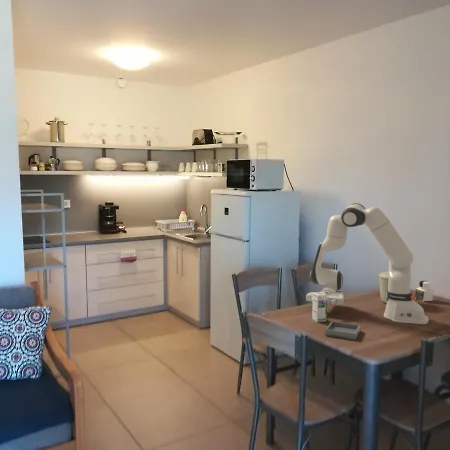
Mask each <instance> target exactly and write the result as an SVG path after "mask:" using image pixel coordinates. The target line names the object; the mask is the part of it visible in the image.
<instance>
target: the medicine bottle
mask: <svg viewBox="0 0 450 450" xmlns="http://www.w3.org/2000/svg"><path fill="white" fill-rule="evenodd" d="M430 288H431V282H430V281H428V280H420V281H419V285H418V287H415V294H414V300H416V299H418V300H420V301H419V302H421V301H423V302H422V303H425V302H424V301H432V302H433V299H434V298H433V297H434V295H433V294H434V290H433V289H430ZM418 300H417V301H418Z"/></svg>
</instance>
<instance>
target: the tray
mask: <svg viewBox="0 0 450 450" xmlns="http://www.w3.org/2000/svg"><path fill="white" fill-rule="evenodd" d="M360 332H361V325H360V324H354V323H346V322H339V321H335V320H334V321H330V323H329V324H328V325H327V327H326V329H325V332H324V333H325V334H324V335H325V336H326V337H332V338H339V339H344V338H345V340H352V341H356V340H357V338H358V336H359V334H360Z"/></svg>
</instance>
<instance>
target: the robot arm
mask: <svg viewBox="0 0 450 450" xmlns="http://www.w3.org/2000/svg"><path fill="white" fill-rule="evenodd" d="M363 225H366V226H367V228H368V229H369V231H370V232H371V234H372V235H373V237H374V238H375V240H376V241H377V242H378V244H379V246H380V247H381V249H382V250H383V252H384V253H385V254H386V256H387V258H388V271H389V283H388V291H387V303H386V306H385V310H384V313H383V317H384V318H385V319H388V320H391V321H392V322H394V323H401V324H402V323H403V324H405V323H406V324H415V325H426V324H428V323H429V320H430V319H429V317H428V316H427V315H425V311H424V308H423V307H422V305H420V304H419V303H418V302H417V301H415V294H414V293H412V292H411V283H412V282H411V279H412V277H411V265H412V264H413V262H414V255H413V253H412V251H411V250H410V248H409V246H407V244H406V243H405V241H404V240H403V238H402V237H401V235H400V234H399V233H398V231H397V230H396V228H395V227H394V226H393V224H392V222H391V221H390V220H389V218H388V217H387V215H385V213H384V212H383V211H382V210H381V209H380V208H379V207H377V206H371V207H369V208H366V207H365V206H364V205H362V204H361V203H359V202H357V203H355V202H354V203H352V204H350V205H348V206H347V207H346V208H345V209H344V210H343V211H342V213H341V214H335V215H332V216H330V219H329V221H328V223H327V227H326V228H327V230H326V236H325V238H324V239H323V240H322V241H321V242H320V243H319V245H318V248H317V250H316V254H315V258H314V261H313V264H312V268H311V270H310V273H309V280H310V281H311V283H312V284H314V285H322V286H324V287H323V289H321V291H320V292H323V293H326V294H327V305H330V306H331V305H332V306H333V305H337V306H343V305H344V302H345V296H344V292H343V291H340V290H341V289H342V287H343V282H344V275H343V274H342V272H341V271H340V270H338V269H332V268H327V267H322V263H323V260H324V255H325V254H326V253H329V252H336V251H338V250H339V251H340V250H341V249H342V248H343V247H345V245H346V242H347V236H348V235H347V234H348V229H349V228H354V227H355V228H356V227H358V226H363ZM313 293H317V291H316V292H315V291H314V292H313V291H312V292H311V291H310V292H308V293H307V294H306V295H305V298H306V299H305V301H307V302H312V303H313Z"/></svg>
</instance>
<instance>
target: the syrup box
mask: <svg viewBox="0 0 450 450" xmlns="http://www.w3.org/2000/svg"><path fill="white" fill-rule="evenodd" d="M311 313H312V314H311V316H312V317H311V319H312V320H313V321H314V322H316V323H322V322H327V321H328V320H327V318H328V304H327V294H326V293H323V292H321V291H320V292H316V293H313V302H312V311H311Z"/></svg>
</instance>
